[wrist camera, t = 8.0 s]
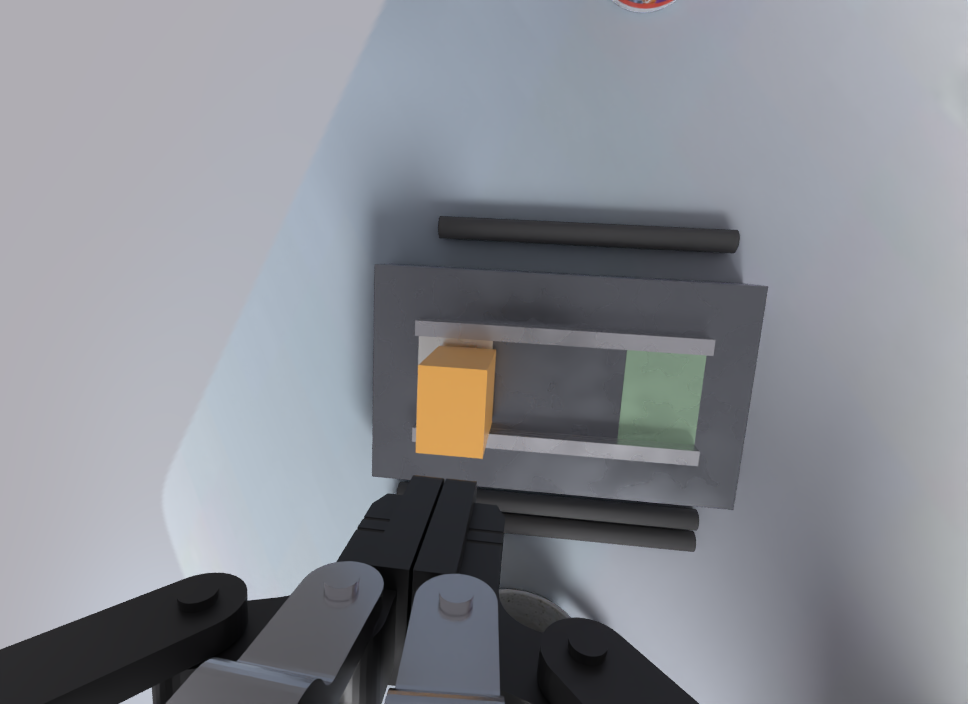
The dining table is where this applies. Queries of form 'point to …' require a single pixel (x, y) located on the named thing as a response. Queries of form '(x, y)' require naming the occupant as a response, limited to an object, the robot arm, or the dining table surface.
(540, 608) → the ceramic mug
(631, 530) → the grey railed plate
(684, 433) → the panel
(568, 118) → the dining table surface
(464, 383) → the lever
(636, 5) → the pill bottle
